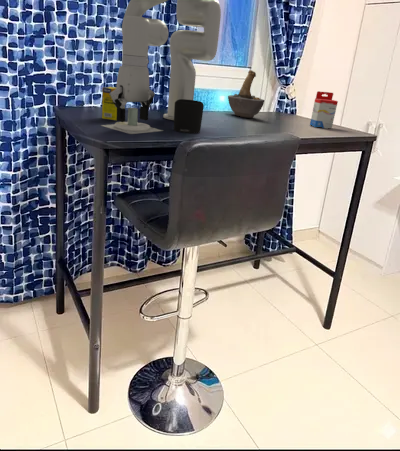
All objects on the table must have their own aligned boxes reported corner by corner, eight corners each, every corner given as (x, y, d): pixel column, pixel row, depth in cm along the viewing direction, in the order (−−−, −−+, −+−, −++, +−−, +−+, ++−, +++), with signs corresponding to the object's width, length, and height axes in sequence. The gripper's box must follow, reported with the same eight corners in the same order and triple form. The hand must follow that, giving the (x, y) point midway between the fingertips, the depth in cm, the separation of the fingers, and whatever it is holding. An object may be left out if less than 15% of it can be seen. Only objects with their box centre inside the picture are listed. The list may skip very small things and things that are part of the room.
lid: (133, 123, 139) (133, 105, 136) (156, 130, 133) (158, 110, 130) (107, 126, 130) (107, 106, 128) (131, 132, 124) (132, 111, 122)
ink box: (315, 127, 179) (322, 92, 173) (309, 125, 183) (316, 91, 178) (332, 128, 181) (339, 93, 176) (326, 126, 186) (333, 92, 180)
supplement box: (118, 123, 141) (119, 89, 136) (101, 120, 142) (101, 87, 137) (124, 120, 146) (125, 88, 142) (108, 118, 147) (109, 86, 143)
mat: (133, 124, 141) (133, 122, 141) (163, 132, 133) (163, 130, 133) (100, 127, 130) (100, 125, 130) (130, 135, 123) (130, 133, 123)
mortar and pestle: (261, 121, 180) (268, 72, 173) (223, 116, 182) (228, 68, 175) (261, 117, 194) (268, 71, 186) (226, 112, 196) (232, 67, 188)
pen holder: (166, 130, 137) (168, 99, 134) (187, 129, 144) (190, 99, 140) (185, 136, 131) (188, 103, 128) (206, 134, 138) (210, 103, 134)
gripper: (146, 62, 133) (144, 117, 139) (103, 59, 120) (102, 119, 126) (163, 65, 129) (160, 121, 135) (121, 62, 116) (119, 124, 122)
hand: (132, 120), depth 131 cm, fingers open, 9 cm apart
